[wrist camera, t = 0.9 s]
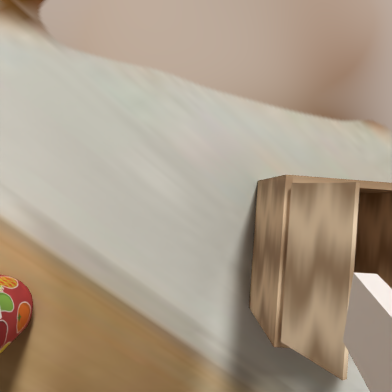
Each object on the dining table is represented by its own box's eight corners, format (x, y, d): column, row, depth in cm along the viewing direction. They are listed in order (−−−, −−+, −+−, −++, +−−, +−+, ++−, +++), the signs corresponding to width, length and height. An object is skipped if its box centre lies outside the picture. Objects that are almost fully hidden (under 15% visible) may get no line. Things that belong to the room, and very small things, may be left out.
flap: (284, 340, 24) (346, 379, 20) (280, 341, 24) (342, 380, 19) (295, 183, 25) (359, 182, 20) (291, 183, 24) (356, 182, 20)
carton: (354, 313, 34) (416, 353, 25) (248, 307, 34) (273, 347, 25) (362, 188, 35) (426, 185, 26) (257, 180, 34) (286, 174, 25)
